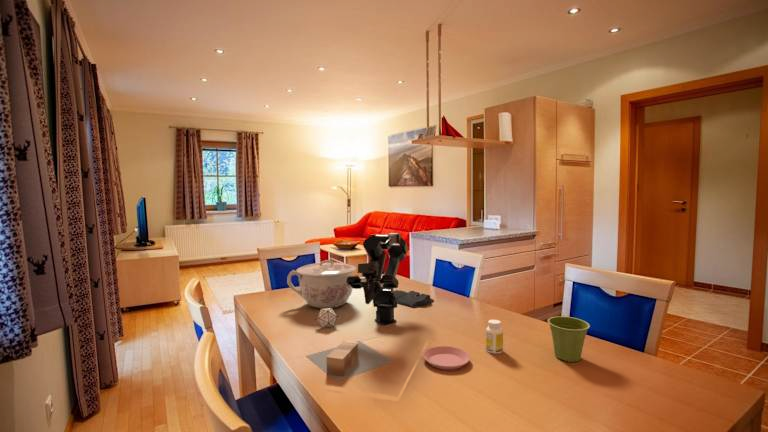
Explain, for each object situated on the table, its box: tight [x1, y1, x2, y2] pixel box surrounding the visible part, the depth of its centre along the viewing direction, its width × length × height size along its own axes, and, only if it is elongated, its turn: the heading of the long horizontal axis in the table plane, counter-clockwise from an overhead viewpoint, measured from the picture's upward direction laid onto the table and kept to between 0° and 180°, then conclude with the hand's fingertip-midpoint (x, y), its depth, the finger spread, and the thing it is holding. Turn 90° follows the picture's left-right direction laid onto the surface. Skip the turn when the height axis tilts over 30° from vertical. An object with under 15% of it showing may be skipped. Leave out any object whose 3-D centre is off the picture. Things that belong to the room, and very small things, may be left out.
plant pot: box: [547, 315, 591, 363], centre depth 121 cm, size 12×12×11 cm
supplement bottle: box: [485, 319, 504, 355], centre depth 126 cm, size 5×5×10 cm
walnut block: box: [326, 340, 358, 376], centre depth 115 cm, size 5×5×12 cm
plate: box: [422, 345, 471, 371], centre depth 119 cm, size 14×14×2 cm
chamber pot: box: [286, 259, 358, 309], centre depth 178 cm, size 28×28×21 cm
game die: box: [314, 306, 340, 330], centre depth 149 cm, size 9×8×10 cm
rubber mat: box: [305, 340, 395, 382], centre depth 120 cm, size 20×20×1 cm
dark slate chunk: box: [394, 289, 435, 309], centre depth 183 cm, size 15×22×5 cm
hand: (367, 303), depth 134 cm, fingers closed
